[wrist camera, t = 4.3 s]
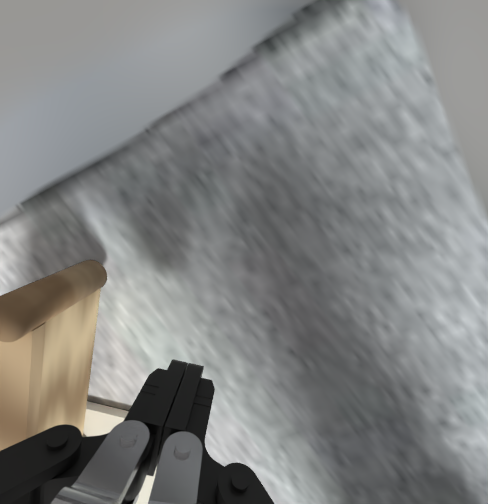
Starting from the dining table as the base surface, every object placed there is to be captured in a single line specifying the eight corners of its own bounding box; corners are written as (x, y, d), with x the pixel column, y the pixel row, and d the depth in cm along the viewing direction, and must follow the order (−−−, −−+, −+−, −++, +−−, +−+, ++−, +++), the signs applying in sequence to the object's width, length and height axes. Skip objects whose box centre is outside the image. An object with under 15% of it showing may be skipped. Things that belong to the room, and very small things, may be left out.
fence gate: (87, 435, 19) (13, 540, 13) (61, 429, 19) (-24, 531, 13) (108, 264, 16) (26, 305, 10) (78, 256, 16) (-20, 293, 10)
